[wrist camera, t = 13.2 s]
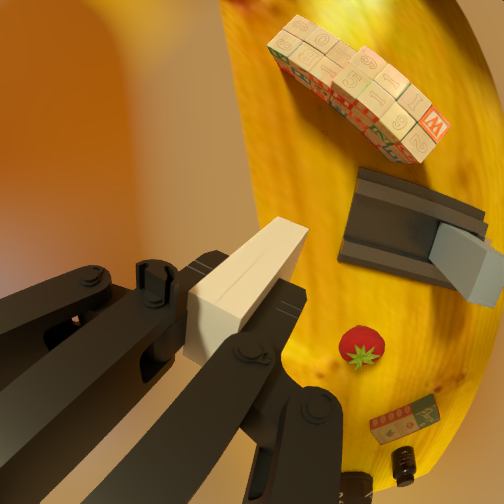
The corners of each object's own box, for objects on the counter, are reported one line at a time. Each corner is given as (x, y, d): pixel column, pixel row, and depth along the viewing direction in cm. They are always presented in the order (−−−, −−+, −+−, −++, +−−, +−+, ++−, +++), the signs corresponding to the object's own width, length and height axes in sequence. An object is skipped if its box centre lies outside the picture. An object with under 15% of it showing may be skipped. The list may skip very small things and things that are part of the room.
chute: (359, 166, 35) (364, 167, 30) (483, 211, 31) (498, 217, 27) (336, 258, 40) (338, 270, 36) (457, 289, 36) (467, 302, 32)
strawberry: (375, 342, 43) (383, 381, 33) (335, 340, 44) (335, 379, 35) (383, 314, 41) (394, 351, 31) (340, 311, 42) (343, 349, 33)
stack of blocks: (277, 68, 33) (259, 34, 21) (303, 41, 30) (295, 0, 19) (391, 163, 33) (421, 165, 22) (416, 135, 31) (453, 126, 20)
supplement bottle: (411, 453, 51) (414, 485, 40) (390, 458, 53) (391, 490, 42) (415, 443, 49) (419, 477, 38) (392, 448, 51) (395, 482, 40)
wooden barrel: (354, 490, 63) (351, 523, 49) (312, 484, 65) (306, 520, 51) (385, 472, 56) (385, 511, 42) (341, 467, 58) (337, 509, 44)
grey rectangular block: (440, 221, 33) (487, 251, 20) (464, 230, 32) (512, 261, 19) (428, 258, 35) (467, 301, 22) (452, 265, 34) (493, 308, 21)
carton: (369, 418, 49) (369, 432, 46) (432, 391, 43) (436, 404, 39) (379, 433, 50) (380, 446, 47) (438, 408, 44) (441, 421, 41)
